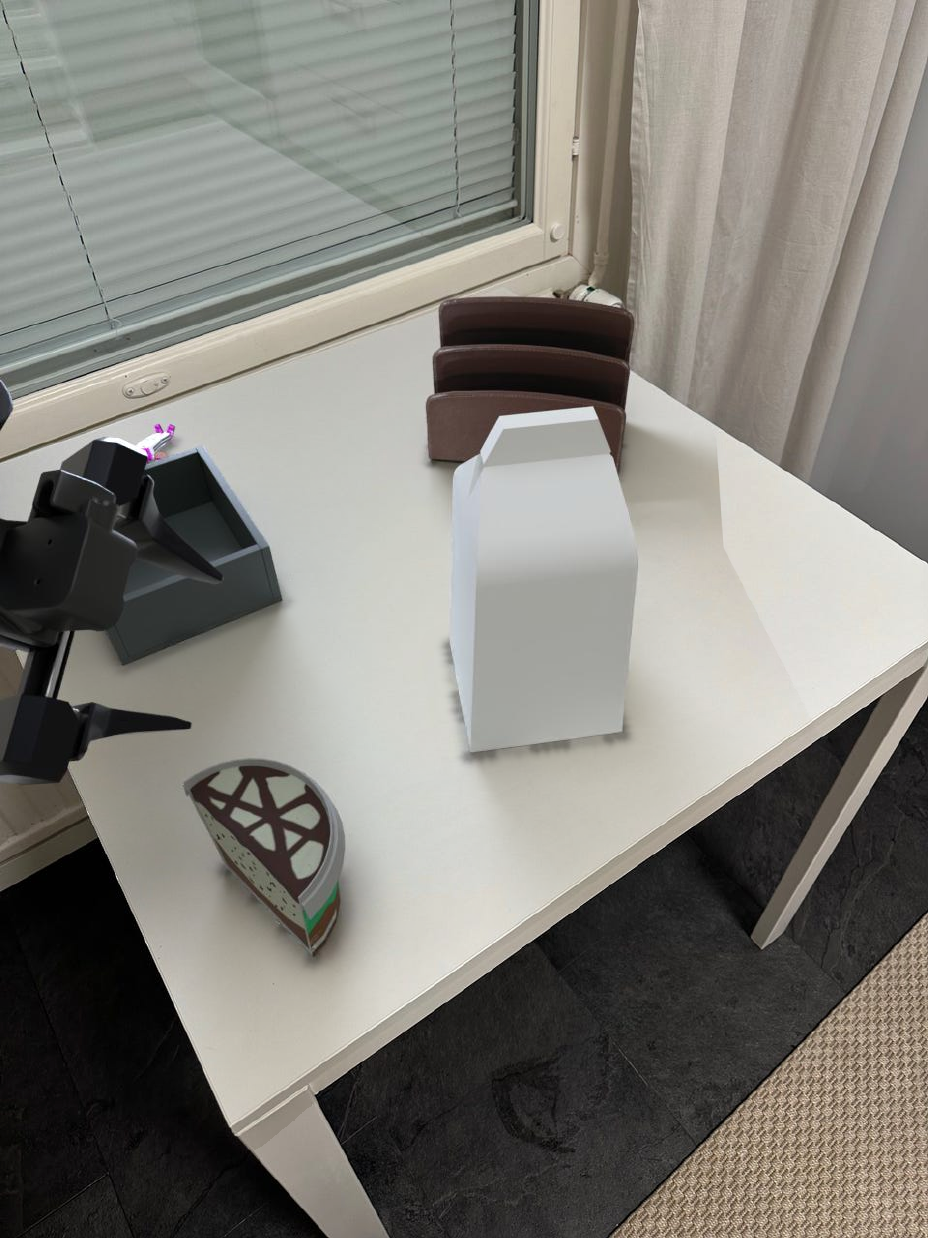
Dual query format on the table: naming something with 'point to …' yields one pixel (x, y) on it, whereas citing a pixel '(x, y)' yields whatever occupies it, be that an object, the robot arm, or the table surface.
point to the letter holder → (525, 367)
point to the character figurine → (156, 442)
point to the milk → (541, 583)
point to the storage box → (217, 532)
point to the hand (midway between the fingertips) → (204, 651)
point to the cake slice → (276, 840)
